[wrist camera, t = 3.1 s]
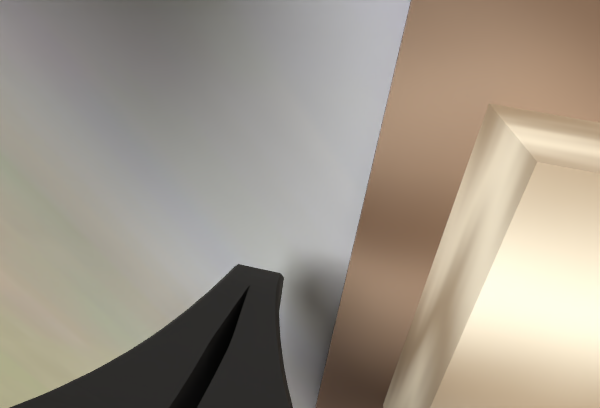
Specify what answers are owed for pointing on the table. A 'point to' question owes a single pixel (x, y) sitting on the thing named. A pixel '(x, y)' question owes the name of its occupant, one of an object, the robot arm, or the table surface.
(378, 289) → the brown rectangular board
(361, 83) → the table surface
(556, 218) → the t block
